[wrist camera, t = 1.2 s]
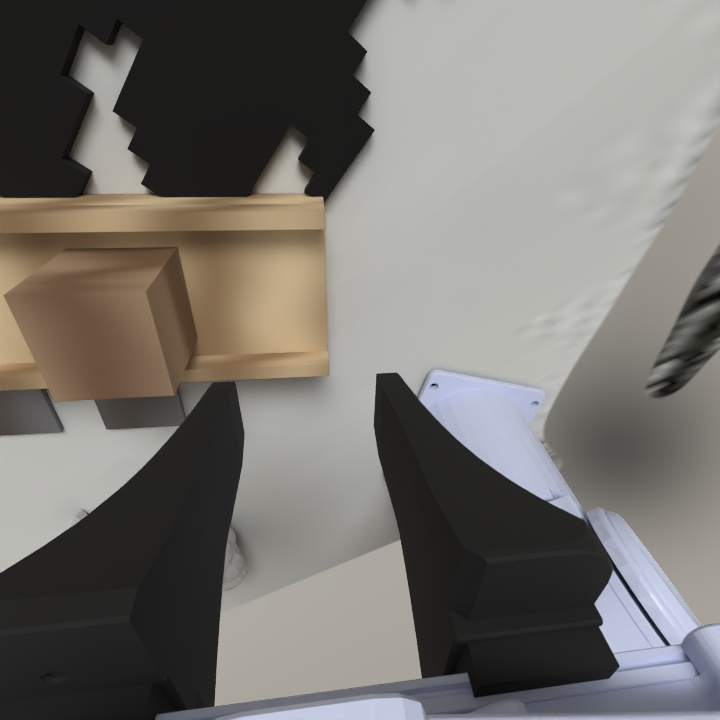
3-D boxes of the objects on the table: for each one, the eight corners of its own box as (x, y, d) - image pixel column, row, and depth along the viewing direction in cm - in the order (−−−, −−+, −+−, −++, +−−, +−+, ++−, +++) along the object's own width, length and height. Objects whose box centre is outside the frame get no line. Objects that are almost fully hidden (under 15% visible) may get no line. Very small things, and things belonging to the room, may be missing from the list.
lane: (322, 193, 20) (326, 221, 16) (328, 413, 27) (332, 466, 23) (-227, 195, 17) (-363, 228, 14) (-58, 434, 25) (-119, 496, 21)
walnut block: (177, 246, 18) (145, 291, 15) (197, 337, 21) (174, 395, 17) (65, 248, 18) (3, 295, 14) (99, 341, 20) (54, 401, 17)
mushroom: (50, 540, 25) (247, 597, 28) (96, 470, 28) (267, 526, 31) (55, 574, 30) (223, 620, 32) (94, 511, 33) (244, 557, 36)
